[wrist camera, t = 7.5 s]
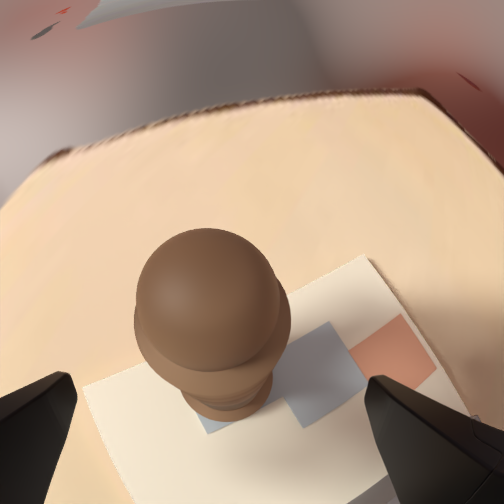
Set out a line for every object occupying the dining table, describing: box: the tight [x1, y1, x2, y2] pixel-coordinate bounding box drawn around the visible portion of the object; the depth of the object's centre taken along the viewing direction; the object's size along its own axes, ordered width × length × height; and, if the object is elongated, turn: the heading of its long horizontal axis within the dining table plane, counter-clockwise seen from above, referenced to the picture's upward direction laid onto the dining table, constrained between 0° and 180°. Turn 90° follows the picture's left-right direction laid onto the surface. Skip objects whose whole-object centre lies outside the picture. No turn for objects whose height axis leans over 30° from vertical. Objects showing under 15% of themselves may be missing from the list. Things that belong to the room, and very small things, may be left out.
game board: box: [82, 254, 481, 504], centre depth 12 cm, size 23×21×4 cm
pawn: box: [134, 228, 291, 422], centre depth 11 cm, size 5×5×13 cm
